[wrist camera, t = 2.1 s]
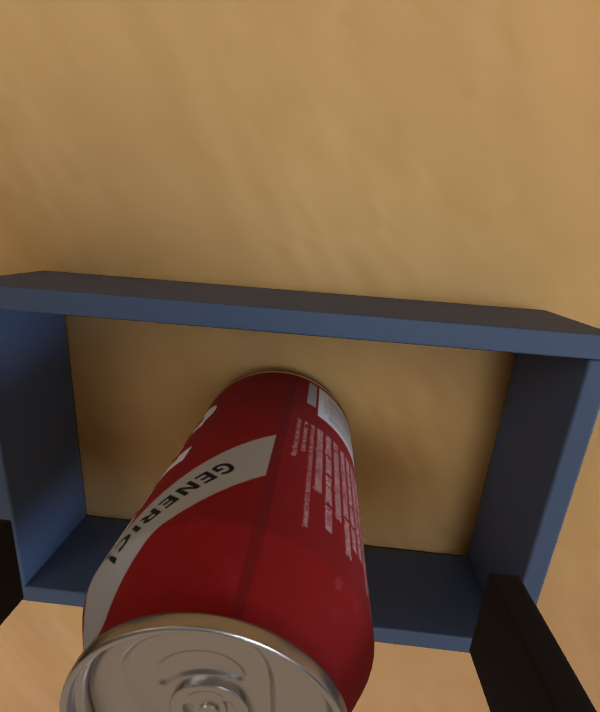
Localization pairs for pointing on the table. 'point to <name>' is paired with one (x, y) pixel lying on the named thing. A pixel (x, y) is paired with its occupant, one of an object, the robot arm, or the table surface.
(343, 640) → the soda can
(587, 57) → the table surface
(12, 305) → the open box
